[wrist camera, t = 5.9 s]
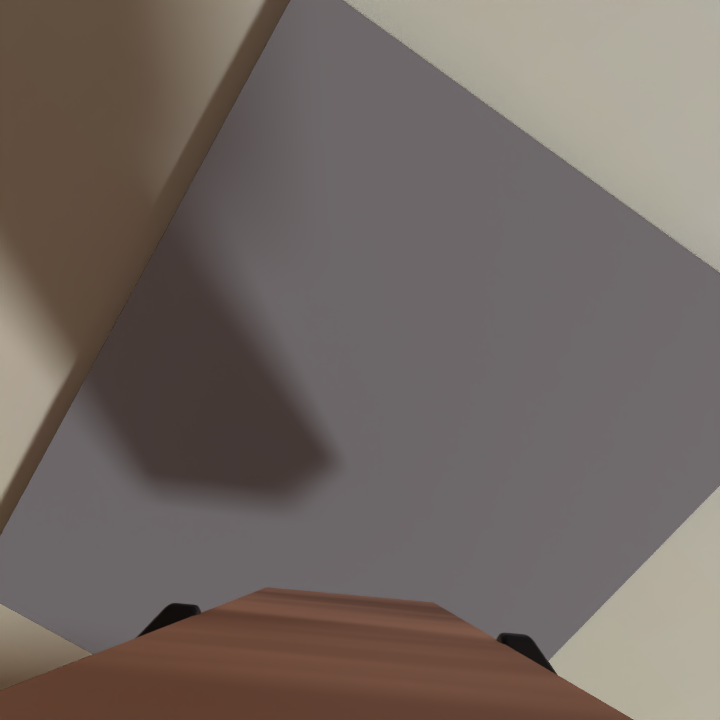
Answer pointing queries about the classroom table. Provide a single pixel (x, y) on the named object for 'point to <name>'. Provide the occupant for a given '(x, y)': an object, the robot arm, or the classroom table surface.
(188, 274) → the charcoal mat
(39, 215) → the classroom table surface
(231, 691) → the terracotta block
